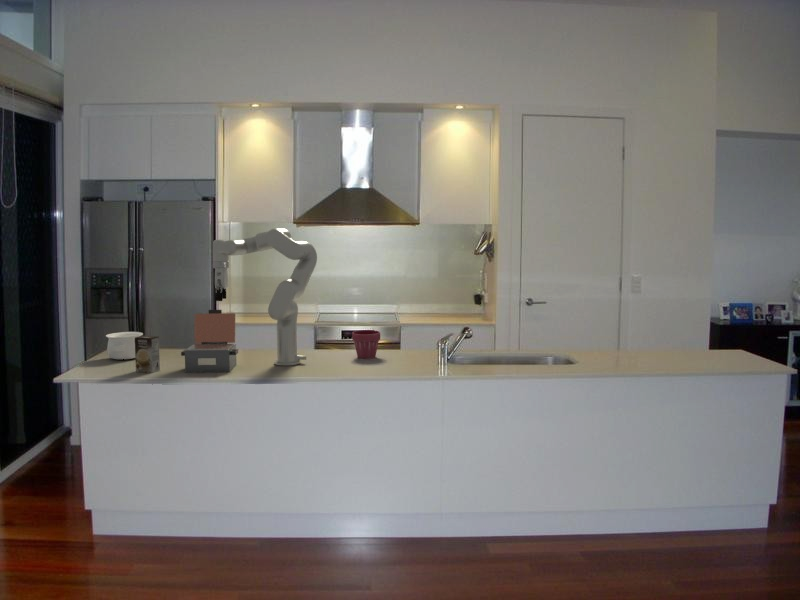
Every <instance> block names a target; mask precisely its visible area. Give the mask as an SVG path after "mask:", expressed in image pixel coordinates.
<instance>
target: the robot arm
mask: <svg viewBox="0 0 800 600" xmlns="http://www.w3.org/2000/svg"><path fill="white" fill-rule="evenodd" d="M272 249H274V250H275V251H277V252H278V253H280V254H282V256H284V257H286V258H287V259H289V260H293V261H296V260H297V261H298V263H296V266H294V268H293V271H292V274H291V276H290V277H289V279H284V280H282V281H280V282H279V283H278V285H277V287H276V289H275V290H274V293H273V296H272V298H271V300H270V302H269V304H268V308H267V313H268V315H269V318H271V319H272V320H274V321H276V350H277V351H276V352H277V353H276V355H277V358H276V360H274V361H273V364H274V365H276V366H287V367H289V366H296V365H300V364H301V361H302V360H304V361H306V360H307V355H300V354H299V352H298V330H297V329H298V327H297V325H298V313H299V307H298V303H297V301H295V299H299V298H301V297H302V296H303V295H304V292H305V290H306V288H307V286H308V284H309V282H310V279H311V277H312V275H313V273H314V270H315V268H316V266H317V262H318V254H317V251H316V248H315V247H314V246H313V244H311V243H310V242H308V241H304V240H298V241H297V240H296V241H295V240H293V239H292V234H291V231H289V230H288V229H286V228H282V227H281V228H279V227H278V228H271V229H269V230H268V231H263V232H258V233H256V235H255V236H251V237H248V238H243V239H228V240H226V239H215V240H213V242H212V268H213V269H214V287H215V301H216V302H223V301H224V300H223V299H227V288H228V287H229V274H228V273H229V272H228V271H229V270H228V269H229V268H230V267H229V266H230V264H229V263H230V256H243V255H247V254H252V253H257V252H262V251H268V250H272Z"/></svg>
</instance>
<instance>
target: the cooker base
mask: <svg viewBox="0 0 800 600" xmlns="http://www.w3.org/2000/svg"><path fill="white" fill-rule="evenodd" d="M238 354H239V349H238V348H237V344H235V343H228V344H202V343H194V344H192V345H190V346H189V347H187V348H186V349H184V350H183V351H181V352H180V356H182V357H183V356H184V367H185V368H184V370H185V373H230V372H231V371H232V370H233V369H234V368H236V366H237V355H238Z"/></svg>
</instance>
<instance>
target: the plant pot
mask: <svg viewBox="0 0 800 600" xmlns="http://www.w3.org/2000/svg"><path fill="white" fill-rule="evenodd" d="M351 335H352V336H351V339H352V341H353V343H354V346H355V352H356V356H357V359H358V358H359V359H363V360H366V359H367V360H368V359H374V358H376V355H377V351H378V347H379V340H381V331H379V330H375V329H373V330H372V329H362V330H354V331H352V333H351Z"/></svg>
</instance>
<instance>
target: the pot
mask: <svg viewBox="0 0 800 600" xmlns="http://www.w3.org/2000/svg"><path fill="white" fill-rule="evenodd" d="M142 335H144V333H143V332H140V331H121V332H113V333H108V334H106V335H105V337H106V338H108V341H107V348H106V351H107V354H108V357H109V358H110V359H111V360H118V361H119V360H122V361H123V359H124V360H130V359H135V337H139V336H142Z"/></svg>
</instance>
